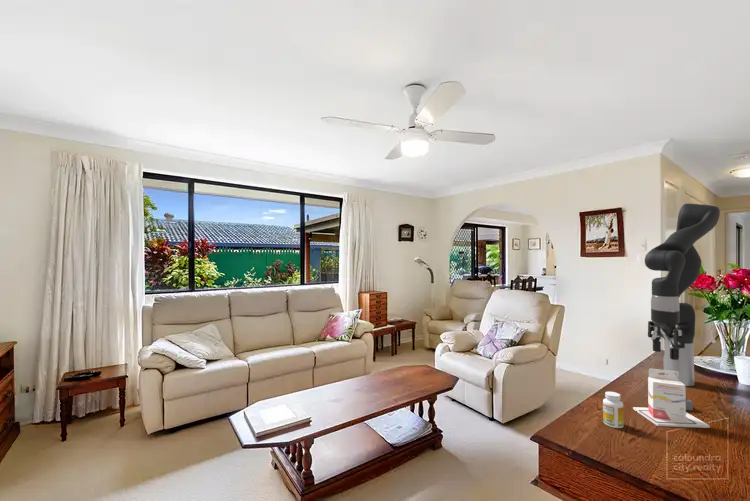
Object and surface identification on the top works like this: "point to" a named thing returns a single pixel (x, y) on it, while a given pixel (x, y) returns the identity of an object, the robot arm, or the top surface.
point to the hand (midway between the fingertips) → (665, 355)
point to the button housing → (689, 405)
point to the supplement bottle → (613, 410)
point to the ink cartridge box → (666, 395)
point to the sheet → (690, 420)
